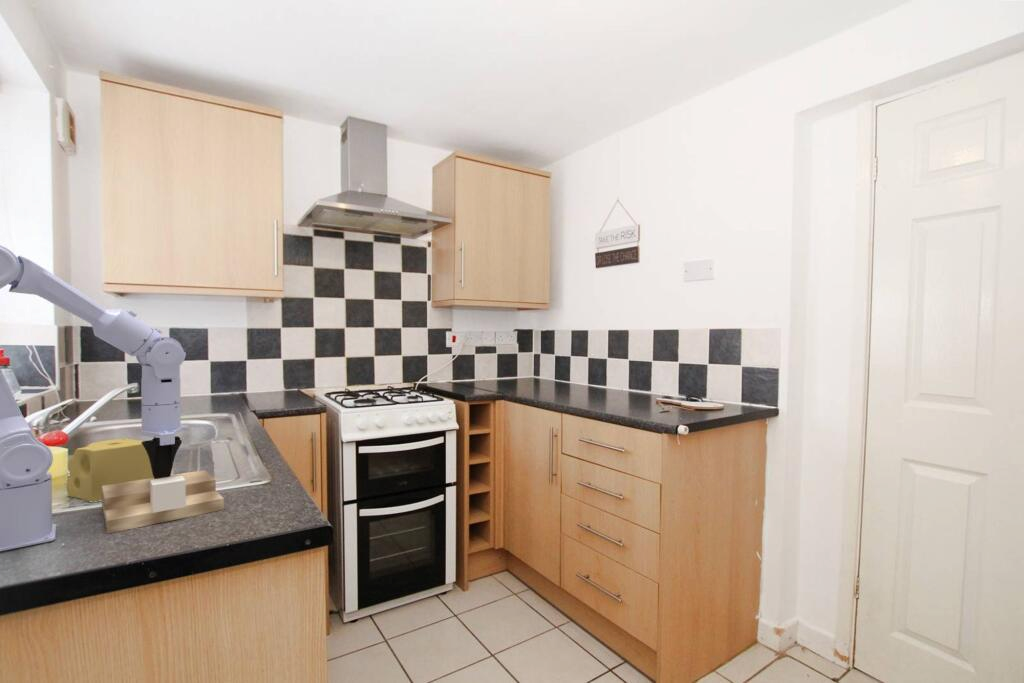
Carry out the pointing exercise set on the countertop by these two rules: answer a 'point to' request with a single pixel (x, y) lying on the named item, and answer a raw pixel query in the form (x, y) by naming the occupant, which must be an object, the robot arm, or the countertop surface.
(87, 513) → the countertop surface
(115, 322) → the robot arm
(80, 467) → the cheese
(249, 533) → the countertop surface
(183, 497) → the white cube
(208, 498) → the step
